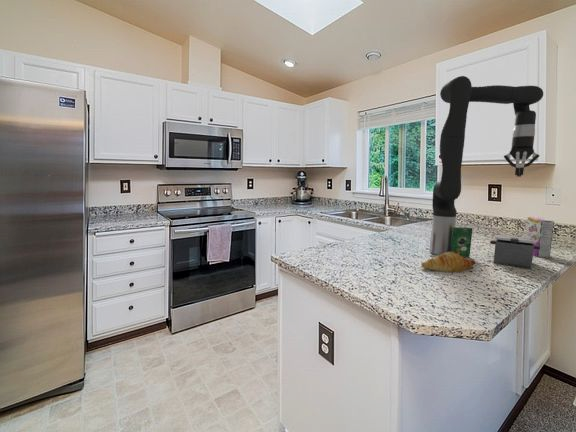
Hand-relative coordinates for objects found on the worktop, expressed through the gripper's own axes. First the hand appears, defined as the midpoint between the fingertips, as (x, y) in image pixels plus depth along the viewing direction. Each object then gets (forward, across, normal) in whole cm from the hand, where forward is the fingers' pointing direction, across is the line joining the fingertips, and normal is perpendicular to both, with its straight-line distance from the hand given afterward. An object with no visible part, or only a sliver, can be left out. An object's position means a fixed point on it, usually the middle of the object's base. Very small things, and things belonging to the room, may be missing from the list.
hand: (518, 176), depth 133 cm
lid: (+25, +1, -21) cm, 33 cm away
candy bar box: (+35, +9, +7) cm, 37 cm away
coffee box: (+35, -17, -21) cm, 44 cm away
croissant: (+36, -18, -44) cm, 59 cm away
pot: (+35, +1, -18) cm, 39 cm away
